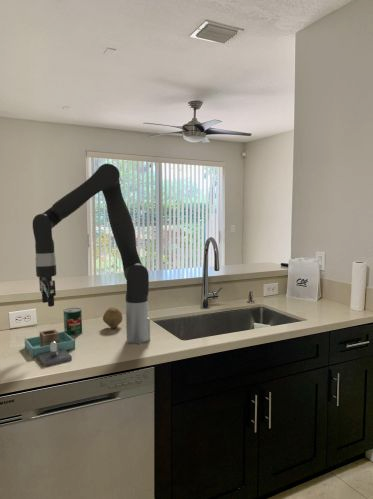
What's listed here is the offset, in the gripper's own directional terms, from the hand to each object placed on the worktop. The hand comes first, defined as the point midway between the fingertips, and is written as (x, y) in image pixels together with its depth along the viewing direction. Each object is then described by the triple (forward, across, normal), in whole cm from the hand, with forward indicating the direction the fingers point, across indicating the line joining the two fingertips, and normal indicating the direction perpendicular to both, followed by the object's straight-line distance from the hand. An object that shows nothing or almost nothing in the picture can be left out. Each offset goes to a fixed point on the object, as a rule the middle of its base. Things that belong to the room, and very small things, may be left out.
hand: (48, 304), depth 147 cm
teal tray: (+18, 0, 0) cm, 18 cm away
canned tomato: (+18, +13, -14) cm, 26 cm away
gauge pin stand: (+18, -13, +2) cm, 22 cm away
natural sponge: (+19, +10, -32) cm, 38 cm away
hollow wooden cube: (+18, 0, 0) cm, 18 cm away
